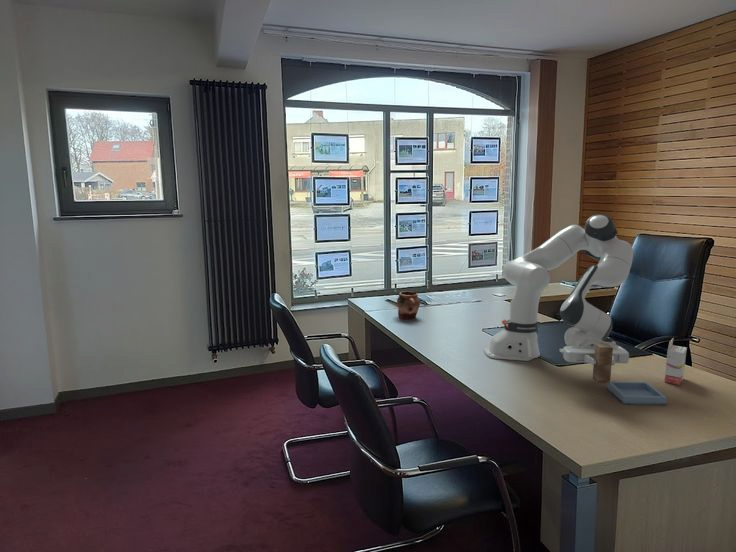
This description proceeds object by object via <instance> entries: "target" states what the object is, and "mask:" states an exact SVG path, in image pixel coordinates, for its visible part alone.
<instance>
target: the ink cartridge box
mask: <svg viewBox="0 0 736 552" xmlns="http://www.w3.org/2000/svg"><path fill="white" fill-rule="evenodd" d="M674 339H675V338H674V337H673V338H671V339H670V341H669V343H668V347H667V352H666V363H665V364H666V365H665V373H664V375H665V376H664V377H665V378H664V383H668V384H673V385H677V386H680V385H681V383H682V382H683V380H684V375H685V365H686V357H687V350H688V347H686V346H679V345H674V344H673V343H674Z"/></svg>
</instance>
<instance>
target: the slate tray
mask: <svg viewBox="0 0 736 552" xmlns="http://www.w3.org/2000/svg"><path fill="white" fill-rule="evenodd" d="M606 387H607V390H608V391H609V392H611V393H610V394H612V395H613V396H614V397H616V398H617V399H618V400H619V402H621V403H622V404H623V405H644V406H645V405H649V406H653V405H654V406H666V405H667V400H668V397H667V396H666V395H664V394H663V393H662V392H660V391H659V390H658V389H657V388H655V387H654V386H653V385H651V383H650V382H648V381H610V384H607V386H606Z"/></svg>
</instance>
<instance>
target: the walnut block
mask: <svg viewBox="0 0 736 552" xmlns="http://www.w3.org/2000/svg"><path fill="white" fill-rule="evenodd" d="M612 353H613V347H611V346H610V345H609V344H595V353H594V358H596V359H597V365H592V366H593V369H592V370H593V371H592V380H593V381H594V382H595V383H596V384H605V385H606V384H607V385H608V384H610V382H611V376H612V375H611V374H612V366H613V365H612Z"/></svg>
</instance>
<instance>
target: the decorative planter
mask: <svg viewBox="0 0 736 552" xmlns="http://www.w3.org/2000/svg"><path fill="white" fill-rule="evenodd" d="M396 305H397V308H398V310H397V311H398V312H397V313H398V314H397V316H398V317H399V319H400V320H412V319H416V317H417V314H418V312H419V308H420V306H421V301H420V299H419V294H418V293H417V292H416V291H408V290H406V291H401V292H399V294H398V297H397V299H396Z"/></svg>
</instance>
